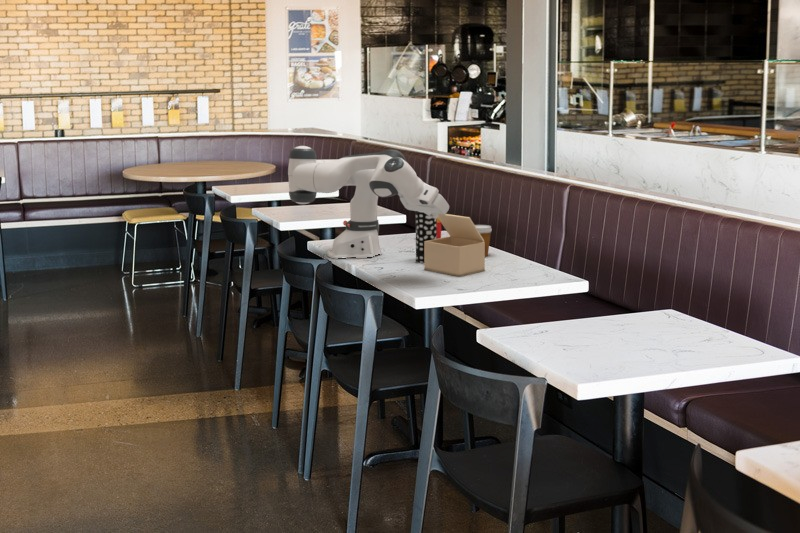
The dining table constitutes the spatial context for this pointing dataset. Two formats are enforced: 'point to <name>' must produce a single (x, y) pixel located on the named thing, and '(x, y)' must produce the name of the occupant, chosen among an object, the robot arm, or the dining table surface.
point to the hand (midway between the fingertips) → (434, 217)
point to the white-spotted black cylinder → (424, 233)
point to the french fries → (438, 228)
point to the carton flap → (460, 227)
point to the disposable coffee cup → (485, 235)
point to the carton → (454, 256)
